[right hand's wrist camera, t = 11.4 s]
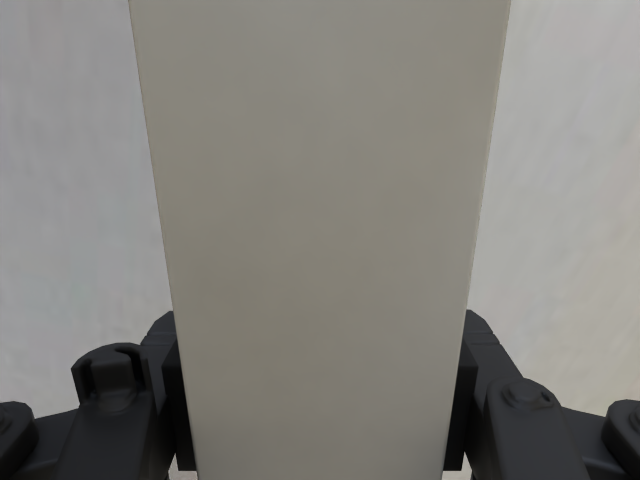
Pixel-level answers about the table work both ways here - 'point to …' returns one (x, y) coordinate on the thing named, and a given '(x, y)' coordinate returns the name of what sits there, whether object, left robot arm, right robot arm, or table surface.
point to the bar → (319, 222)
